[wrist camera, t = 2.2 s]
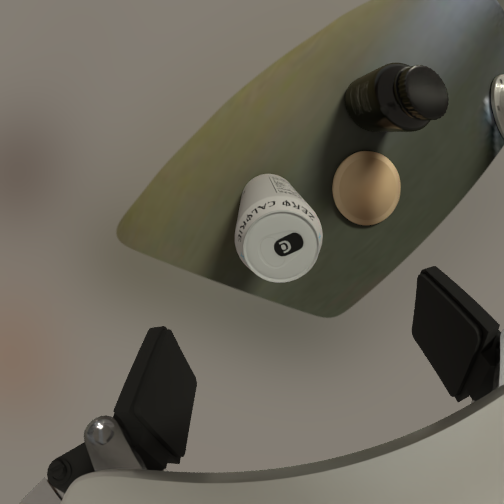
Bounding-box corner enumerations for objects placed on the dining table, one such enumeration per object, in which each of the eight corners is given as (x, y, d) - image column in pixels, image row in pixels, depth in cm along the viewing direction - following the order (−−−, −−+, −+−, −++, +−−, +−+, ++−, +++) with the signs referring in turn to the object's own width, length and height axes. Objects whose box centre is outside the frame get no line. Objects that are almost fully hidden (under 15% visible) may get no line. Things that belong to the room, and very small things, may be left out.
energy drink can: (231, 188, 30) (215, 228, 17) (280, 163, 29) (306, 183, 16) (256, 232, 32) (260, 304, 19) (302, 210, 31) (341, 266, 18)
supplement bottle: (381, 143, 28) (441, 149, 17) (333, 112, 27) (380, 98, 16) (402, 99, 26) (464, 89, 15) (357, 67, 25) (407, 38, 13)
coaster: (393, 147, 28) (396, 147, 28) (400, 216, 32) (403, 218, 31) (325, 156, 29) (327, 156, 28) (337, 230, 32) (339, 232, 32)
